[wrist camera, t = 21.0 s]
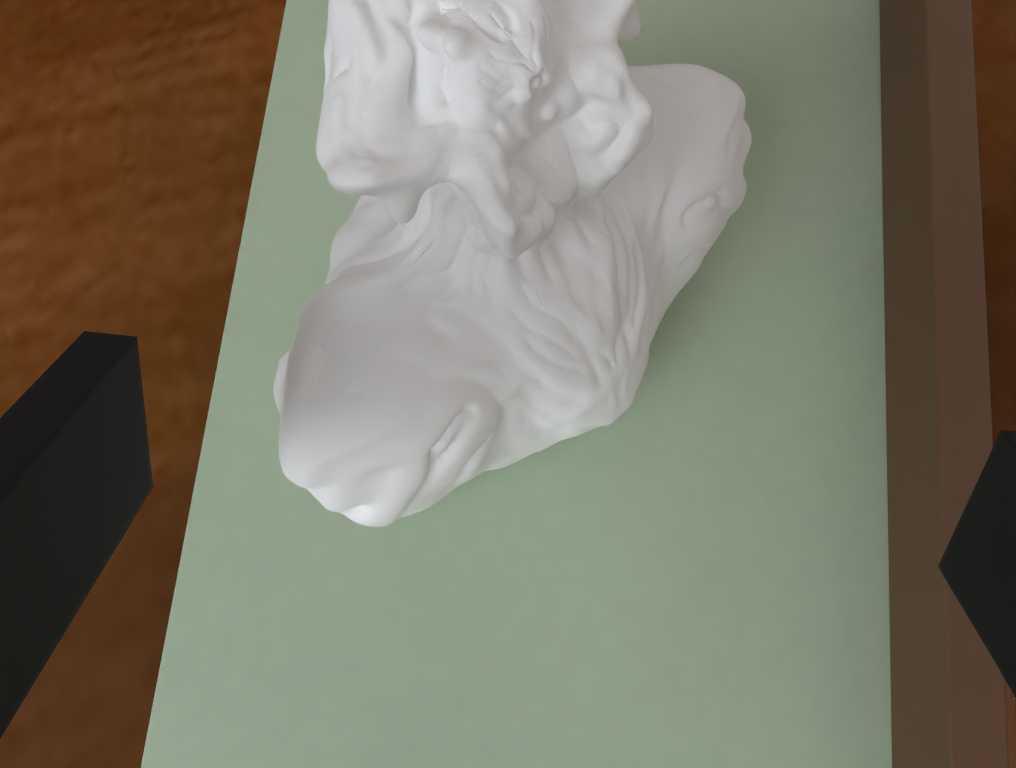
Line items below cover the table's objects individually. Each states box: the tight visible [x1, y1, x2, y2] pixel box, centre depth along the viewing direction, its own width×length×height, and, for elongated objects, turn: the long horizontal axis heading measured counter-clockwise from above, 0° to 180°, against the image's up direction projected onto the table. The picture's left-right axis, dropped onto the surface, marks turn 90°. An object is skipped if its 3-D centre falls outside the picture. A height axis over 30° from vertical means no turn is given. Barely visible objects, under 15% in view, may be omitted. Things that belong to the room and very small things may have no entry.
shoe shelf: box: [141, 0, 1009, 768], centre depth 23 cm, size 17×22×7 cm
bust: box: [273, 0, 752, 527], centre depth 17 cm, size 12×8×11 cm
